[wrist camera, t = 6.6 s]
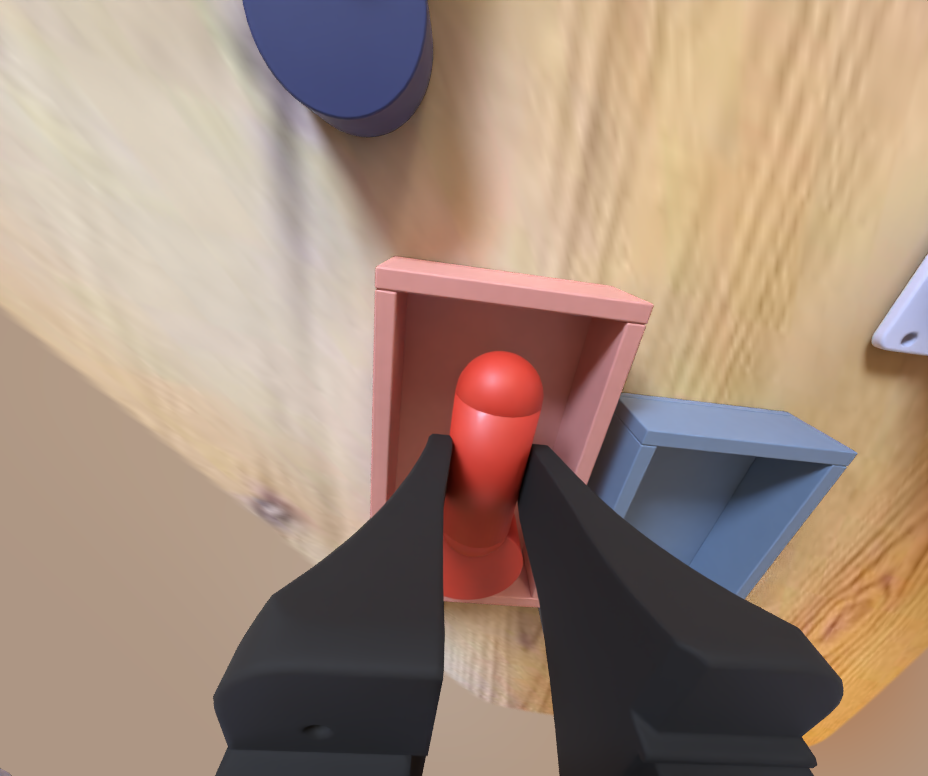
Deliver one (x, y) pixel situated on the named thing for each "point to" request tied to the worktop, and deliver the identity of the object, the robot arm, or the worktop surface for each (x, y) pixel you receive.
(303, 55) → the blue handle
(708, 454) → the blue bin
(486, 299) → the red bin
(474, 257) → the worktop surface
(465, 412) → the red rubber stamp
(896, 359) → the worktop surface
